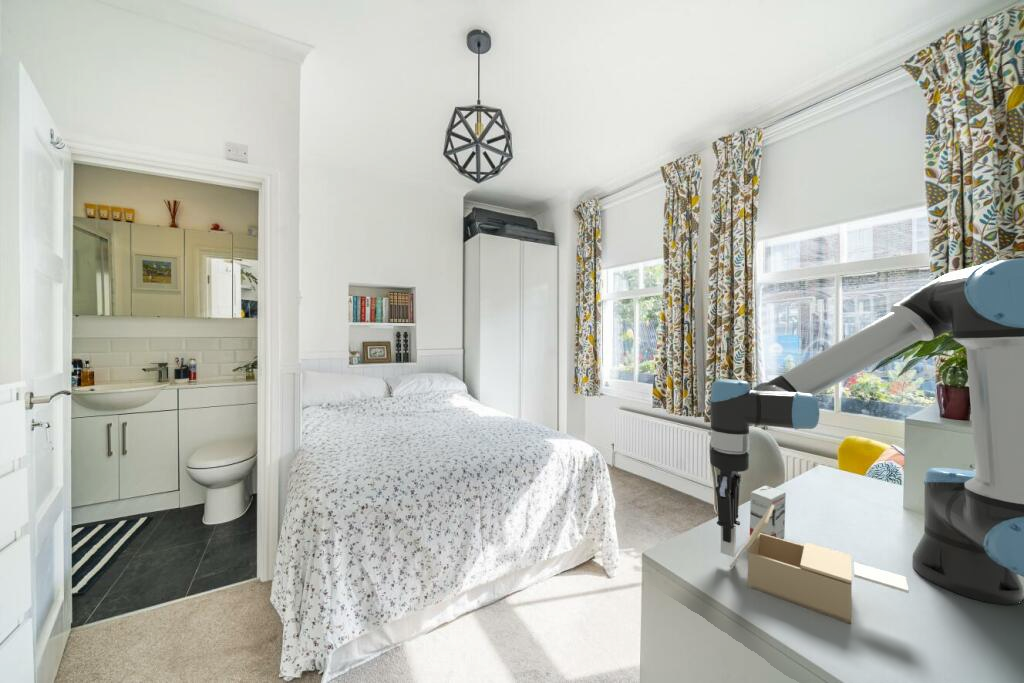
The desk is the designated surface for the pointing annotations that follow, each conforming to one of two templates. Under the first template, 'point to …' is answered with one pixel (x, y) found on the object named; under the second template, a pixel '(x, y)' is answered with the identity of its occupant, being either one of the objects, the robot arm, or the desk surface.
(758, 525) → the far flap
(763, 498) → the ink box
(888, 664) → the desk surface
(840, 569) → the near flap
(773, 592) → the carton
